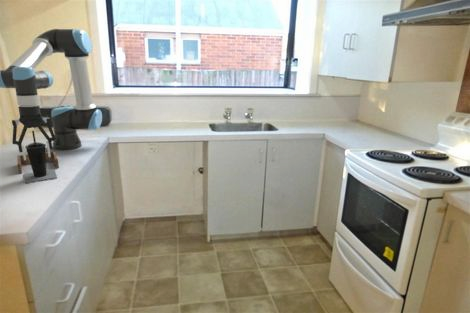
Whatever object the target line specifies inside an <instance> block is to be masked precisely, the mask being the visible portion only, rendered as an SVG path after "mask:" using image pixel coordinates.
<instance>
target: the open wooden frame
mask: <svg viewBox="0 0 470 313" xmlns="http://www.w3.org/2000/svg"><path fill="white" fill-rule="evenodd" d="M45 152H46V163H47V162H48V163H49V162H54V164H55V168H56V169H59V168H60V165H59V160H58V156H57V153H56V151H50V155H51V157H49V156H48V151H45ZM25 155H26V160H24V157H23V154H22V155H21V154H19V155H17V162H16V163H17V169H18V174H20V175H21V174H22V173H23V171H22V170H23V168H22V165H25V166H26V165H29V164H30V160H29V157H28V154H25ZM30 165H31V164H30Z"/></svg>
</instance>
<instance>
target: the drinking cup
mask: <svg viewBox="0 0 470 313" xmlns="http://www.w3.org/2000/svg"><path fill="white" fill-rule="evenodd" d="M31 134H32V138H33V142H30V143H29V144H26V145H24V149H26V153H27V155H28V157H29V160H30V166H31V170H32V173H33V174H34V177H43V176H46V175H47V170H48V169H47V162H46V152H47V151H46V147H47V143H42V142H38V141H37V142H36V137H35V136H36V135H35V130H32V131H31Z"/></svg>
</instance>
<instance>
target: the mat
mask: <svg viewBox="0 0 470 313" xmlns="http://www.w3.org/2000/svg"><path fill="white" fill-rule="evenodd" d="M46 170H47V175H46V176H43V177H34V174H33V172H28V173H24V176H23V178H24V184H25V183H26V184H31V183H30V182H32V183H36V182H35V181H39V182H42V181H41V180H45V181H48V180H47V179H51V180H54V179H53V178H57V179H58V175H57V174H56V170H55V169H54V168H53V169H46Z"/></svg>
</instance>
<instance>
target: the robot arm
mask: <svg viewBox="0 0 470 313" xmlns="http://www.w3.org/2000/svg"><path fill="white" fill-rule="evenodd" d="M92 48H93V47H92V41H91V38H90V36H89V34H88V33H87V32H86V31H85V30H83V29H76V28H72V29H67V28H66V29H64V28H63V29H61V28H54V29H50V30H47V31H45V32H43V33H41V34H39V35H38V36H36V38H34V39H33V41H32V44H31V46H29V47H28V48H27V49H26V50H25V51H24V52H23V53H22V54H21V55H20V56H19V57H17V58H16V60H14V61H13V62H12V63H11V64H10V65H9V66H8V67H7V68H6V69H0V88H2V89H14V90H15V94H16V101H17V106H18V112H19V118H18V119H12V120H11V124H12V127H13V128H12V145H17V146H18V147H17V148H18V152H19V153H22V155H23V157H24V160H26V155H27V154H26V151H25V149H26V148H25V145H24V143H23V142H24V138H25V136H26V132H27V130H28V129H32V128H35V129H36V128H37V129H39V131H40V132H41V134H42V135H43V136H44V138H45V139H46V140H47V141H46V143H45V144H46V148H47V149H46V151H47V152H48V156H49V157H51V155H50V152H51V150H52V149H54V150H56V151H57V150H58V151H67V150H75V149H77V148H78V149H79V148H81V147H82V141H81V139H80V137H79V135H78V132H77V131H78V130H81V131H85V130H87V131H93V130H94V131H95V130H98V129H99V128H100V127H101V125H102V121H103V113H102V111H101V109H98V108H97V105H96V104H95V103H94V99H93V93H92V88H91V80H90V75H89V68H88V63H87V62H88V61H87V59H88V58H89V57H90V56H89V55H90V53H92ZM56 53H62V54H64V57H65V59H67V60H68V63H69V69H70V75H71V81H72V85H73V91H74V97H75V102H76V105H75V106H72V105H69V106H63V107H56V108H53V109H51V113H50V114H51V118H50V117H48V116H47V117H43V116H42V112H41V106H40V101H39V95H38V90H40V89H42V90H43V89H47V88H50V87H52V85H54V76H52V74H51V73H50V72H49V71H47V70H35V69H36V68H37V67H38V66H39V65H40V64H41V63H42V62H43V61H44V60H45V58H47V57H50V56H52V54H56ZM43 121H44V123H46V126H47V129H48V130H49V132H50V133H49V134H50V135H51V137H50V136H49V135H48V133H47V132H46V130H45V129H44V128H43V127H42V125H41V124H42V122H43ZM51 122H52V125H51ZM20 123H21V125H23V128H22V130H21V133H20V136H19V137H18V140H17V132H18V125H19V124H20ZM52 127H53V128H52Z"/></svg>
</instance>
